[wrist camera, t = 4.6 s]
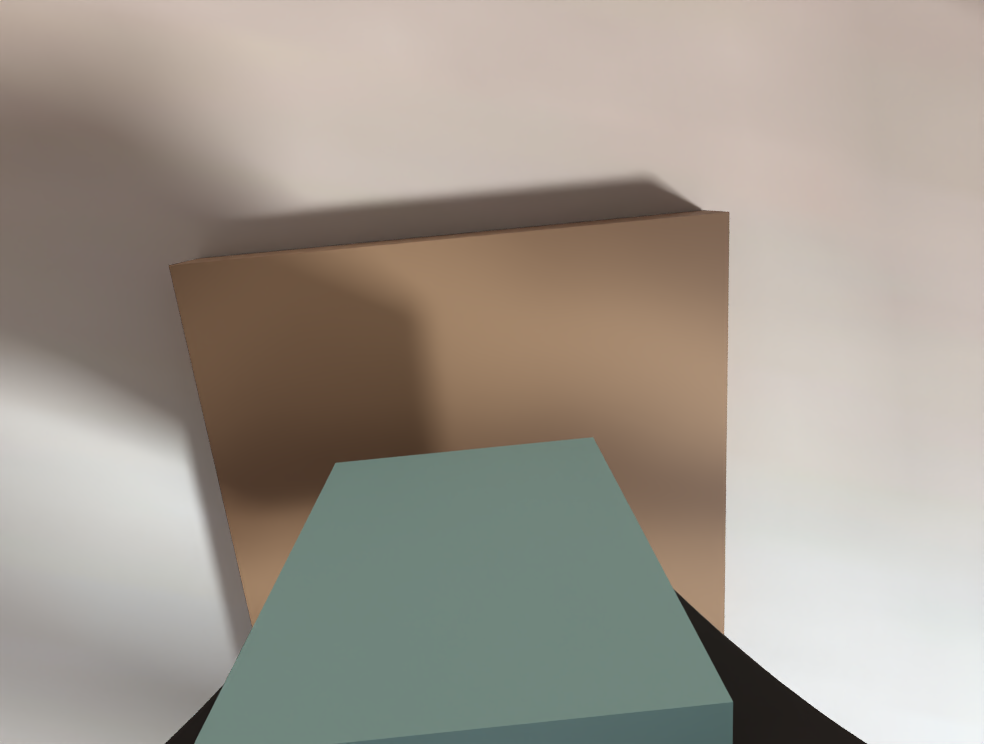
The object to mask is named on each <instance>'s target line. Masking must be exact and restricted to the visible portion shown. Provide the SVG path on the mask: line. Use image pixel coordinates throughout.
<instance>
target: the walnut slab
mask: <svg viewBox="0 0 984 744" xmlns="http://www.w3.org/2000/svg"><path fill="white" fill-rule="evenodd" d="M169 269H170V273H171V277H172V282H173V286H174V290H175V295H176V299H177V303H178V308H179V312H180V316H181V321H182V325H183V329H184V334H185V338H186V342H187V347H188V351H189V355H190V360H191V364H192V368H193V373H194V377H195V381H196V386H197V390H198V394H199V399H200V403H201V407H202V412H203V416H204V420H205V425H206V429H207V433H208V438H209V442H210V446H211V451H212V455H213V459H214V464H215V468H216V472H217V477H218V481H219V485H220V490H221V494H222V498H223V503H224V507H225V511H226V516H227V520H228V524H229V529H230V533H231V537H232V542H233V546H234V550H235V555H236V559H237V563H238V568H239V572H240V576H241V581H242V585H243V589H244V594H245V598H246V602H247V607H248V611H249V615H250V620H251V624H252V628H253V626H254V624H255V622H256V620H257V618H258V616H259V614H260V612H261V610H262V608H263V606H264V604H265V602H266V600H267V598H268V596H269V594H270V592H271V590H272V588H273V586H274V584H275V582H276V580H277V578H278V576H279V574H280V572H281V570H282V568H283V566H284V564H285V562H286V560H287V558H288V556H289V554H290V552H291V550H292V548H293V546H294V544H295V542H296V540H297V538H298V537H299V535H300V533H301V531H302V529H303V527H304V525H305V523H306V521H307V519H308V517H309V515H310V513H311V511H312V509H313V507H314V505H315V503H316V501H317V499H318V497H319V495H320V493H321V491H322V489H323V487H324V485H325V483H326V481H327V479H328V477H329V475H330V473H331V471H332V469H333V467H334V465H335V463H339V462H349V461H359V460H369V459H379V458H389V457H399V456H409V455H419V454H429V453H439V452H450V451H460V450H470V449H480V448H490V447H500V446H510V445H520V444H530V443H540V442H550V441H560V440H570V439H580V438H590V437H593V438H594V440H595V442H596V444H597V445H598V447H599V449H600V451H601V453H602V455H603V457H604V459H605V461H606V462H607V464H608V466H609V468H610V470H611V472H612V474H613V476H614V478H615V480H616V481H617V483H618V485H619V487H620V489H621V491H622V493H623V495H624V497H625V498H626V500H627V502H628V504H629V506H630V508H631V510H632V512H633V514H634V515H635V517H636V519H637V521H638V523H639V525H640V527H641V529H642V531H643V532H644V534H645V536H646V538H647V540H648V542H649V544H650V546H651V548H652V550H653V551H654V553H655V555H656V557H657V559H658V561H659V563H660V565H661V567H662V568H663V570H664V572H665V574H666V576H667V578H668V580H669V582H670V584H671V585H672V587H673V589H674V590H675V591H676V592H678V593H679V594H680V595H681V596H682V597H683V598H684V599H685V600H686V601H687V602H688V603H689V604H690V605H692V606H693V607H694V608H695V609H696V610H697V611H698V612H699V613H700V614H701V615H702V616H703V617H705V618H706V619H707V620H708V621H709V622H710V623H711V624H712V625H713V626H715V627H716V628H717V629H718V630H719V631H720V632H721V633H722V634H724V599H725V519H726V439H727V358H728V278H729V212H722V211H707V210H702V211H692V212H681V213H671V214H660V215H650V216H639V217H629V218H618V219H608V220H597V221H587V222H576V223H566V224H555V225H545V226H534V227H524V228H513V229H503V230H492V231H482V232H471V233H461V234H451V235H440V236H430V237H419V238H409V239H398V240H388V241H377V242H367V243H356V244H346V245H335V246H325V247H314V248H304V249H293V250H283V251H272V252H262V253H251V254H241V255H230V256H220V257H209V258H199V259H194V260H190V261H186V262H182V263H177V264H173V265H169Z"/></svg>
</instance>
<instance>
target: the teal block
mask: <svg viewBox="0 0 984 744" xmlns="http://www.w3.org/2000/svg"><path fill="white" fill-rule="evenodd" d="M194 744H733V701H732V699H731V697H730V695H729V693H728V691H727V690H726V688H725V686H724V684H723V682H722V680H721V678H720V676H719V674H718V672H717V671H716V669H715V667H714V665H713V663H712V661H711V659H710V657H709V655H708V654H707V652H706V650H705V648H704V646H703V644H702V642H701V640H700V638H699V637H698V635H697V633H696V631H695V629H694V627H693V625H692V623H691V621H690V620H689V618H688V616H687V614H686V612H685V610H684V608H683V606H682V604H681V602H680V601H679V599H678V597H677V595H676V593H675V591H674V589H673V587H672V585H671V584H670V582H669V580H668V578H667V576H666V574H665V572H664V570H663V568H662V567H661V565H660V563H659V561H658V559H657V557H656V555H655V553H654V551H653V550H652V548H651V546H650V544H649V542H648V540H647V538H646V536H645V534H644V532H643V531H642V529H641V527H640V525H639V523H638V521H637V519H636V517H635V515H634V514H633V512H632V510H631V508H630V506H629V504H628V502H627V500H626V498H625V497H624V495H623V493H622V491H621V489H620V487H619V485H618V483H617V481H616V480H615V478H614V476H613V474H612V472H611V470H610V468H609V466H608V464H607V462H606V461H605V459H604V457H603V455H602V453H601V451H600V449H599V447H598V445H597V444H596V442H595V440H594V438H593V437H590V438H580V439H570V440H560V441H550V442H540V443H530V444H520V445H510V446H500V447H490V448H480V449H470V450H460V451H450V452H439V453H429V454H419V455H409V456H399V457H389V458H379V459H369V460H359V461H349V462H339V463H335V465H334V467H333V469H332V471H331V473H330V475H329V477H328V479H327V481H326V483H325V485H324V487H323V489H322V491H321V493H320V495H319V497H318V499H317V501H316V503H315V505H314V507H313V509H312V511H311V513H310V515H309V517H308V519H307V521H306V523H305V525H304V527H303V529H302V531H301V533H300V535H299V537H298V538H297V540H296V542H295V544H294V546H293V548H292V550H291V552H290V554H289V556H288V558H287V560H286V562H285V564H284V566H283V568H282V570H281V572H280V574H279V576H278V578H277V580H276V582H275V584H274V586H273V588H272V590H271V592H270V594H269V596H268V598H267V600H266V602H265V604H264V606H263V608H262V610H261V612H260V614H259V616H258V618H257V620H256V622H255V624H254V626H253V628H252V630H251V632H250V634H249V636H248V638H247V640H246V642H245V644H244V646H243V648H242V650H241V652H240V654H239V656H238V658H237V660H236V662H235V664H234V666H233V668H232V670H231V671H230V673H229V675H228V677H227V679H226V681H225V683H224V685H223V687H222V689H221V691H220V693H219V695H218V697H217V699H216V701H215V703H214V705H213V707H212V709H211V711H210V713H209V715H208V717H207V719H206V721H205V723H204V725H203V727H202V729H201V731H200V733H199V735H198V737H197V739H196V741H195V743H194Z"/></svg>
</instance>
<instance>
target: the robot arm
mask: <svg viewBox="0 0 984 744" xmlns="http://www.w3.org/2000/svg"><path fill="white" fill-rule="evenodd" d="M674 591H675V590H674ZM675 593H676V595H677V597H678V599H679V601H680V602H681V604H682V606H683V608H684V610H685V612H686V614H687V616H688V618H689V620H690V621H691V623H692V625H693V627H694V629H695V631H696V633H697V635H698V637H699V638H700V640H701V642H702V644H703V646H704V648H705V650H706V652H707V654H708V655H709V657H710V659H711V661H712V663H713V665H714V667H715V669H716V671H717V672H718V674H719V676H720V678H721V680H722V682H723V684H724V686H725V688H726V690H727V691H728V693H729V695H730V697H731V699H732V701H733V744H867V743H865V742H864V741H862V740H860V739H859V738H857V737H856V736H854V735H853V734H851V733H850V732H848V731H847V730H845V729H844V728H842V727H841V726H839V725H838V724H837V723H835V722H834V721H832V720H831V719H829V718H828V717H827V716H825V715H824V714H822V713H821V712H820V711H818V710H817V709H815V708H814V707H813V706H811V705H810V704H809V703H807V702H806V701H805V700H803V699H802V698H801V697H800V696H798V695H797V694H796V693H794V692H793V691H792V690H790V689H789V688H788V687H786V686H785V685H784V684H782V683H781V682H780V681H778V680H777V679H776V678H775V677H774V676H772V675H771V674H770V673H769V672H767V671H766V670H765V669H764V668H762V667H761V666H760V665H759V664H758V663H756V662H755V661H754V660H753V659H752V658H751V657H749V656H748V655H747V654H746V653H745V652H743V651H742V650H741V649H740V648H739V647H737V646H736V645H735V644H734V643H733V642H732V641H730V640H729V639H728V638H727V637H726V636H725V635H724V634H722V633H721V632H720V631H719V630H718V629H717V628H716V627H715V626H713V625H712V624H711V623H710V622H709V621H708V620H707V619H706V618H705V617H703V616H702V615H701V614H700V613H699V612H698V611H697V610H696V609H695V608H694V607H693V606H692V605H690V604H689V603H688V602H687V601H686V600H685V599H684V598H683V597H682V596H681V595H680V594H679V593H678V592H676V591H675ZM222 687H223V686H222ZM222 687H221V688H220V689H219V690H218V691H217V692H216V693H215V694H214V695H213V696H212V697H211V698H210V700H209V701H208V702H207V703H206V704H205V705H204V706H203V707H202V708H201V709H200V710H199V711H198V712H197V713H196V714H195V715H194V716H193V717H192V718H191V719H190V720H189V721H188V722H187V723H186V724H185V725H184V726H183V727H182V728H181V729H180V730H179V731H178V732H177V733H176V734H175V735H173V736H172V737H171V738H170V739H169V740H168V741H167V742H166V743H165V744H194V743H195V741H196V739H197V737H198V735H199V733H200V731H201V729H202V727H203V725H204V723H205V721H206V719H207V717H208V715H209V713H210V711H211V709H212V707H213V705H214V703H215V701H216V699H217V697H218V695H219V693H220V691H221V689H222Z"/></svg>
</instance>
